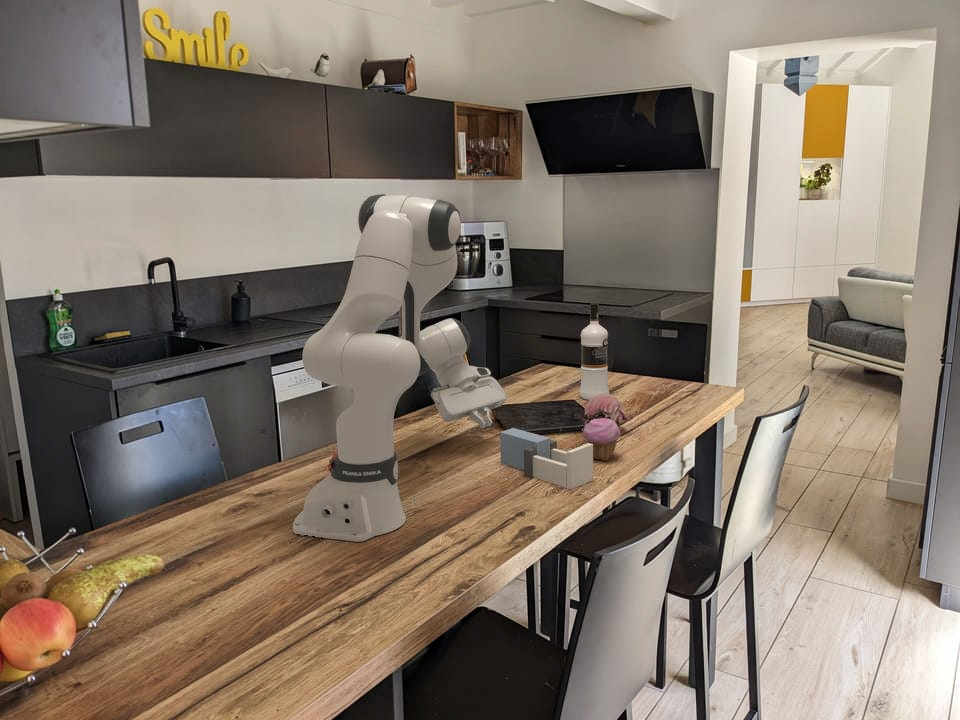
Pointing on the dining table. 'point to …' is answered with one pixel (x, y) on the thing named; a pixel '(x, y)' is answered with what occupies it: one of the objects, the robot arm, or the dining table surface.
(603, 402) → the toy
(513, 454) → the grey rectangular box
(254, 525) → the dining table surface
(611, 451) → the cupcake
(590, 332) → the vodka
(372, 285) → the robot arm
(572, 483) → the frame
